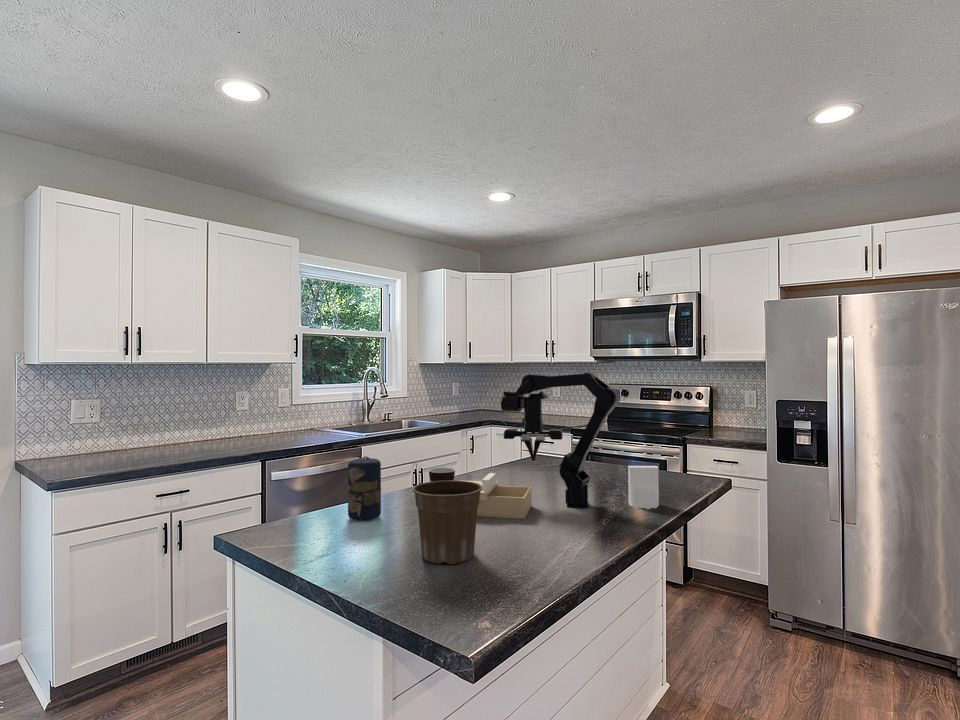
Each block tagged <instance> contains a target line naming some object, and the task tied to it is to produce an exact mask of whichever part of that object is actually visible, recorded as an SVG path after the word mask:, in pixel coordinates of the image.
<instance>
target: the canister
mask: <svg viewBox="0 0 960 720" xmlns="http://www.w3.org/2000/svg"><path fill="white" fill-rule="evenodd" d="M381 466H382V463H381V461H380V459H377V458H371V457H369V456H363V457H362V458H355V459H352V460H350V461H348V464H347V516H348V518H350V519H351V520H353V521H361V522H362V521H371V520H375V519H377V518H379V517H380V516H381V514H382V485H381V483H382V482H381V481H382V478H381V477H382V475H381V474H382V470H381V469H382V467H381Z"/></svg>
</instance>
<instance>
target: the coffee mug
mask: <svg viewBox="0 0 960 720" xmlns="http://www.w3.org/2000/svg"><path fill="white" fill-rule="evenodd" d="M455 472H456V469H455V468H452V467H433V468H431V469H428V477H429V482H433V481H446V480H455V474H456V473H455Z"/></svg>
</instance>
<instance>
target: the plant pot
mask: <svg viewBox="0 0 960 720" xmlns="http://www.w3.org/2000/svg"><path fill="white" fill-rule="evenodd" d="M456 480H457V479H454V480H446V481H433V482H430V481H428V482H422V483H419V484H416V485H414V486H413V487H412V492H413V493H414V496H415V497H414V498H415V506H416V508H417V514H418V527H419V536H420V548H421V557H422V559H423V560H424V561H427V562H428V563H432V564H435V565H436V564H437V565H441V564H442V563H445V564H448V565H457V564H461V563H465V562H467V561H470V560H471V559H472V558H473V557H474V555H475V543H476V542H475V541H476V531H477V530H476V529H477V522H478V521H477V519H478V518H477V517H478V516H477V509H478V505H479V500H480V491H482V486H481V485H480V484H478V483H474V482H468V481H469V480H468V481H456Z"/></svg>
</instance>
